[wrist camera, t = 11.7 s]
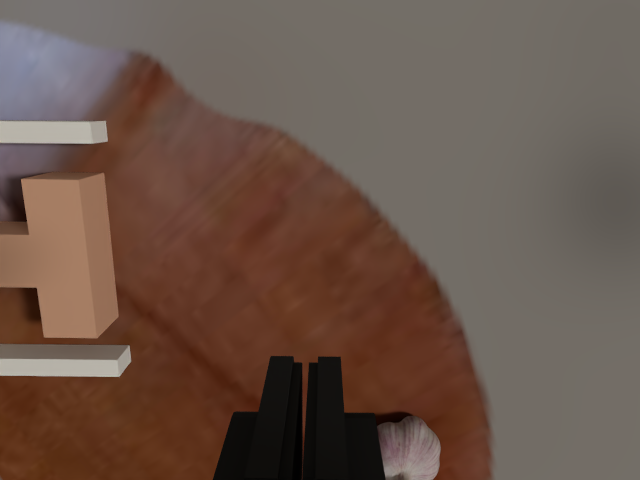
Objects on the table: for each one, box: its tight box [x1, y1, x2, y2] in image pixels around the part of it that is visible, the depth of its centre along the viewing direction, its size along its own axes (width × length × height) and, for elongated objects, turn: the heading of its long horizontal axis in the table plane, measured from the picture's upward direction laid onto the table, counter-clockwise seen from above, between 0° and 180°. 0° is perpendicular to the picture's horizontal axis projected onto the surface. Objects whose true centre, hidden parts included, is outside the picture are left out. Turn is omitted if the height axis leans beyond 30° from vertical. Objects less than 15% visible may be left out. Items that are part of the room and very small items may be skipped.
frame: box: [0, 120, 131, 377], centre depth 38 cm, size 20×15×2 cm
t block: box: [0, 172, 119, 338], centre depth 37 cm, size 12×12×4 cm
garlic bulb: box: [377, 416, 441, 480], centre depth 40 cm, size 8×7×8 cm
